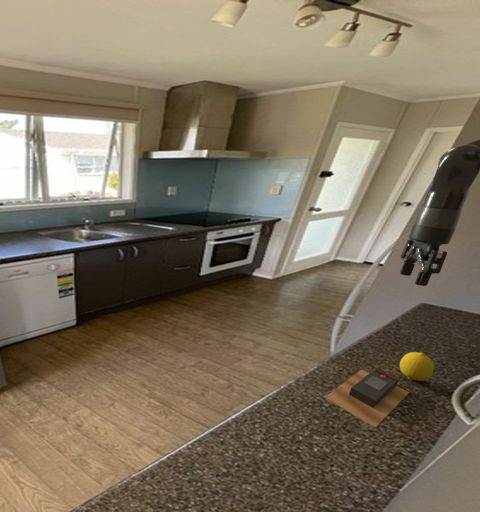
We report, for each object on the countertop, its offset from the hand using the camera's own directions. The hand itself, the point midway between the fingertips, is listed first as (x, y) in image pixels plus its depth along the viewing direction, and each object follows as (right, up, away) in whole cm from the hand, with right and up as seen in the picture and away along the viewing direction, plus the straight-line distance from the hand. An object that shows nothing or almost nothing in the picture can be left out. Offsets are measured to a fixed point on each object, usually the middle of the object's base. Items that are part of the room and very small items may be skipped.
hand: (412, 279), depth 82 cm
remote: (-25, -25, -14) cm, 38 cm away
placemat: (-27, -26, -15) cm, 41 cm away
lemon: (-11, -25, -9) cm, 29 cm away
